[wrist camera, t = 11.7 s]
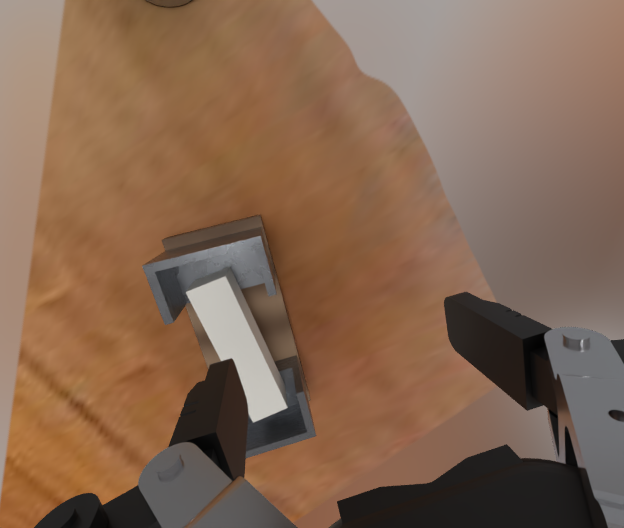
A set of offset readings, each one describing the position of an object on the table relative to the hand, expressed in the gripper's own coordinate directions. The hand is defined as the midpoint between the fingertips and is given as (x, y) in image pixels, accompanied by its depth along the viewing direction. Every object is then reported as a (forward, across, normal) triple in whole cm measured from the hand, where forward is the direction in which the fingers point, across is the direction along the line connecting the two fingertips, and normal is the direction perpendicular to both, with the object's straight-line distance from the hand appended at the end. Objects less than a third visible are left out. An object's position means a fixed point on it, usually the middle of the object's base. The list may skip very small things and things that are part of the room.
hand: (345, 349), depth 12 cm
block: (+24, +8, +9) cm, 26 cm away
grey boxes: (+26, +8, +9) cm, 29 cm away
